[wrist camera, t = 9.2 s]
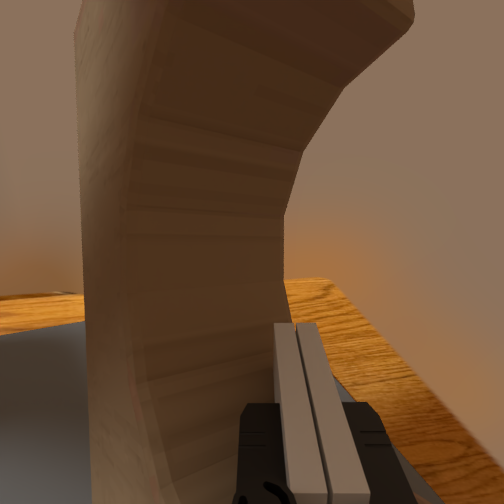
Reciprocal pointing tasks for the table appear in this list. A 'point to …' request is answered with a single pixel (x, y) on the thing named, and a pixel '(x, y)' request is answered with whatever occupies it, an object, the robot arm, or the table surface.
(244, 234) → the decorative block
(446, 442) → the table surface
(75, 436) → the mat
